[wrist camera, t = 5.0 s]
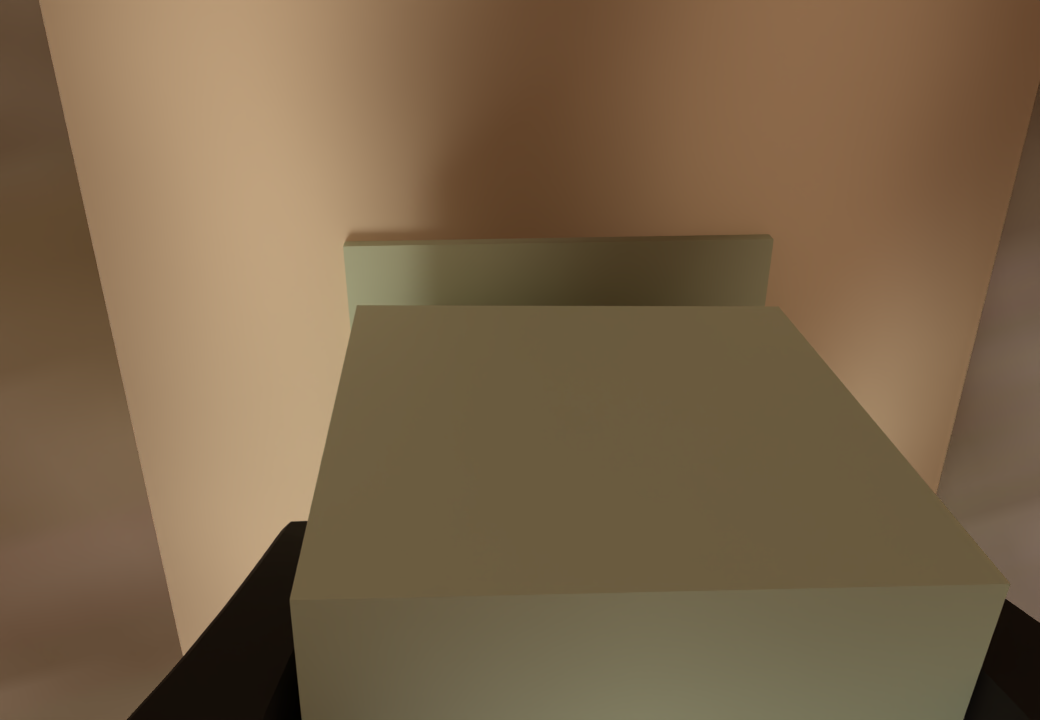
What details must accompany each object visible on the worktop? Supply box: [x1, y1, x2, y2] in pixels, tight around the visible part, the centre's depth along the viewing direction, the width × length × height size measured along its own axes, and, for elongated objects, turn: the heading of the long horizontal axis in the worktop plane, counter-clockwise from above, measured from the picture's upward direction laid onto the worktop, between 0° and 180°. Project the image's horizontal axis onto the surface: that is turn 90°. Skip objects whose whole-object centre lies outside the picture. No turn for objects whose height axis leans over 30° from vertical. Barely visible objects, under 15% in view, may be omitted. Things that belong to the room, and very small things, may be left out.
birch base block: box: [39, 0, 1040, 656], centre depth 14 cm, size 12×12×3 cm
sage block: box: [290, 305, 1010, 720], centre depth 10 cm, size 5×5×5 cm
